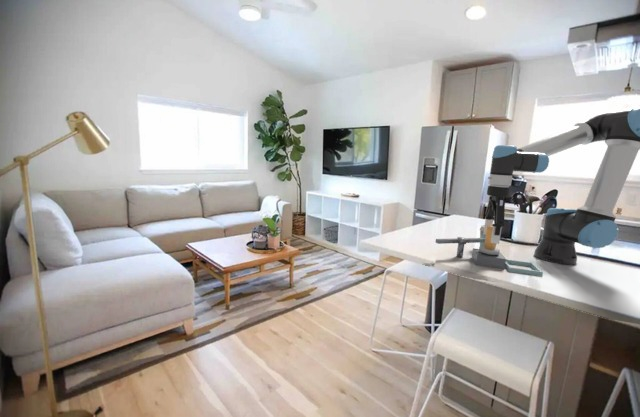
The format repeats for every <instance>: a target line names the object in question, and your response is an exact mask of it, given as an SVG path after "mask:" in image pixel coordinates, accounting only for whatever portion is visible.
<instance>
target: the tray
mask: <svg viewBox="0 0 640 417" xmlns="http://www.w3.org/2000/svg"><path fill="white" fill-rule="evenodd" d="M511 265H516V266H524V267H530V268H531V269H528V268H521V267H520V268H519V267H513V266H511ZM505 269H506V270H507V271H508V272H509V273H510V272H511V273H519V274H524V275H533V276H538V277H543V274H544V271H542V269H541V268H539V267H538V266H537V265H536V264H535V263H534V262H531V261H530V262H529V261H524V260H523V261H522V260H516V259H508V258H506V263H505Z"/></svg>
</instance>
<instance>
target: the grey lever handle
mask: <svg viewBox="0 0 640 417" xmlns="http://www.w3.org/2000/svg"><path fill="white" fill-rule="evenodd" d="M480 242H485V238H480V237H461V236H459V237H458V236H457V238H435V243H436V244H441V245H442V244H444V245H445V244H457V250H456V258H461V259H462V258H464V250H465V245H467V244H470V243H471V244H473V243H475V244H476V243H477V244H478V243H479V244H480Z"/></svg>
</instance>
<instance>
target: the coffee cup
mask: <svg viewBox="0 0 640 417" xmlns="http://www.w3.org/2000/svg"><path fill="white" fill-rule="evenodd" d="M484 226H485V224H483V225H481V226H480V227H479V238H486V235H484V234H483V233H484ZM484 245H485V242H480V243H479V247H480V246H484ZM495 248H497V244H496V245H495Z"/></svg>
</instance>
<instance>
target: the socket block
mask: <svg viewBox="0 0 640 417" xmlns="http://www.w3.org/2000/svg"><path fill="white" fill-rule="evenodd" d="M471 259H472V261H473V263H474V264H475V266H478V267H479V266H481V267H486V268H494V269H499V270H500V269H502V270H505V269H506V267H505V263H506V259H507V258H506V257H505V256H504V255H503V253H501V251H500V252H499V255H495V256H490V255H482V252H480V251H479V248H474V247H473V248H472V252H471Z"/></svg>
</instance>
